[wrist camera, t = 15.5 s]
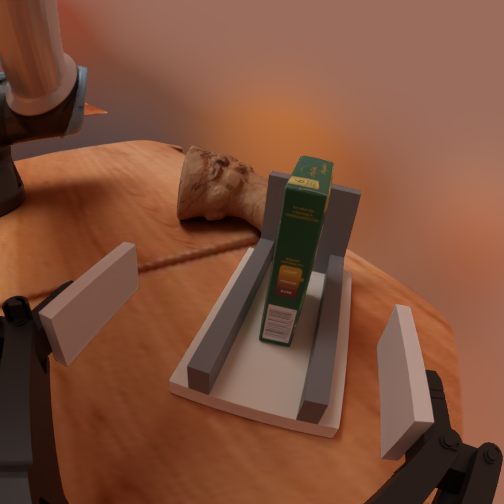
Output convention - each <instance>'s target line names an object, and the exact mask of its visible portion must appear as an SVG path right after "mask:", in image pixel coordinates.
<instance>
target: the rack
mask: <svg viewBox="0 0 504 504" xmlns="http://www.w3.org/2000/svg"><path fill="white" fill-rule="evenodd" d="M290 176H291V175H289V174H285V173H279V172H274V171H272V172H271V173H270V175H269V180H268V188H267V195H266V203H265V210H264V217H263V225H262V232H261V238H260V240H259V242H258V244H257V245H256V247H255V249H253V248H249V249H248V250H247V252H246V254H245V255H244V257H243V259H242V260H241V262H240V264H239V265H238V267H237V269H236V270H235V272H234V274H233V275H232V277H231V278H230V280H229V282H228V283H227V285H226V287H225V288H224V290H223V292H222V293H221V295H220V297H219V298H218V300H217V302H216V303H215V305H214V306H213V308H212V310H211V311H210V313H209V315H208V316H207V318H206V320H205V321H204V323H203V325H202V326H201V328H200V330H199V331H198V333H197V335H196V336H195V338H194V340H193V341H192V343H191V345H190V346H189V348H188V349H187V351H186V353H185V354H184V356H183V358H182V359H181V361H180V363H179V364H178V366H177V368H176V369H175V371H174V373H173V374H172V376H171V378H170V379H169V387H170V392H171V393H173V394H176V395H178V396H181V397H184V398H187V399H189V400H192V401H195V402H198V403H201V404H204V405H206V406H209V407H212V408H215V409H219V410H222V411H225V412H228V413H231V414H234V415H238V416H241V417H245V418H248V419H252V420H255V421H259V422H262V423H266V424H270V425H274V426H278V427H282V428H286V429H290V430H294V431H299V432H303V433H308V434H313V435H317V436H323V437H328V438H333V437H334V435H335V434H336V432H337V431H338V430H339V425H340V418H341V410H342V402H343V393H344V384H345V374H346V363H347V352H348V338H349V323H350V304H351V278H352V272H349V271H345V270H343V267H344V256H345V253H346V249H347V246H348V242H349V238H350V234H351V231H352V227H353V223H354V220H355V216H356V212H357V208H358V204H359V200H360V195H361V193H360V190H357V189H353V188H348V187H344V186H340V185H336V184H332V185H331V191H330V198H329V202H328V207H327V211H326V215H325V220H324V225H323V229H322V233H321V237H320V241H319V245H318V250H317V253H316V257H315V261H314V265H313V269H312V273H311V276H310V281H309V284H308V288H307V291H306V296H305V299H304V303H303V306H302V310H301V314H300V317H299V320H298V323H297V326H296V330H295V333H294V337H293V339H292V342H291V345H290V347H285V346H281V345H277V344H273V343H269V342H264V341H260V340H259V334H260V328H261V322H262V315H263V310H264V304H265V298H266V293H267V287H268V282H269V277H270V271H271V266H272V261H273V255H274V249H275V243H276V238H277V232H278V226H279V221H280V215H281V209H282V203H283V197H284V190H285V186H286V184H287V182H288V180H289V178H290Z"/></svg>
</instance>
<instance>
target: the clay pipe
mask: <svg viewBox="0 0 504 504" xmlns="http://www.w3.org/2000/svg"><path fill="white" fill-rule="evenodd" d="M267 188H268V179H266V178H263V177H261V176H259V175H257V174H256V173H254V171H253V168H252V167H251V166H249V165H248V164H244V163H242V162H238V160H237V159H236V158H234V157H231V156H230V155H227V154H219V153H218V154H217V153H215V152H211V153H210V152H208V151H206V150H204V149H202V148H201V147H199V146H196V145H192V146H191V147H190V149H189V151H188V153H187V155H186V157H185V160H184V163H183V167H182V172H181V177H180V184H179V192H178V202H177V218H178V219H179V220H186V219H190V218H194V217H201V216H203V217H205V218H206V219H207V220H209V221H215V220H220V219H223V218H224V217H225V216H232V217H241V218H243V219H245V220H247V221H248V222H249V223H250V224H252V225H253V226H254V227H256V228H257V229H259V231H260V232H262V225H263V217H264V210H265V203H266V195H267Z"/></svg>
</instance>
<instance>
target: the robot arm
mask: <svg viewBox="0 0 504 504" xmlns="http://www.w3.org/2000/svg"><path fill="white" fill-rule="evenodd" d="M0 65H1V67H2V70H3V72H1V73H0V216H1V215H4V214H6V213H8V212H9V211H11V210H13V209H14V208H16V207H17V206H18V205H20V204H21V203H22V202H23V200H24V199H25V189H24V184H23V182H22V180H21V178H20V175H19V173H18V171H17V169H16V167H15V164H14V162H13V160H12V156H11V147H10V145H13V144H18V143H23V142H29V141H35V140H41V139H48V138H55V137H61V138H63V137H65V136H68V135H73V134H77V133H79V132H80V131H81V130H82V127H83V119H84V106H85V95H86V84H87V75H88V69H87V68H86V67H81V66H76V65H75V63H74V61H73V60H72V58H71V57H70V56H68V55H67V54H65V53H63V47H62V41H61V34H60V26H59V18H58V9H57V0H0ZM138 289H139V280H138V267H137V252H136V244H132V243H128V242H123V243H121V244H120V245H119V246H118V247H116V248H115V249H114V250H113V251H111V252H110V253H109V254H107V255H106V256H105V257H104V258H102V259H101V260H100V261H99V262H97V263H96V264H95V265H94V266H93V267H91V268H90V269H89V270H88V271H86V272H85V273H84V274H83V275H82V276H80V277H79V278H78V279H77V280H76V281H72V280H71V281H69V282H67V283H65V284H62V285H61V286H60V287H59V288H58V289H56V290H55V292H53V293H52V294H50V296H49V297H47V298H46V299H45V300H43V301H42V302H41V303H40V304H39V305H38V306H37V307H35V308H34V309H33V310H32V311H31V309H30V305H29V302H28V300H27V299H26V297H23V296H14V297H11V298H9V299H7V300H6V301H5V302H4V303H3V305H2V309H3V312H4V315H5V317H3V316H0V504H69V503H68V501H67V499H66V498H65V495H64V492H63V488H62V483H61V478H60V472H59V466H58V460H57V453H56V446H55V438H54V430H53V420H52V407H51V391H50V361H49V357H48V355H49V354H50V353H51V352H53V355H54V357H55V360H56V361H57V362H59V363H61V364H63V365H65V366H67V367H69V366H70V364H71V363H72V362H73V361H74V360H75V359H76V357H77V356H78V355H79V354H80V353H81V352H82V351H83V349H84V348H85V347H86V346H87V345H88V344H89V343H90V342H91V340H92V339H93V338H94V337H95V336H96V335H97V334H98V333H99V331H100V330H101V329H102V328H103V327H104V326H105V325H106V324H107V323H108V321H109V320H110V319H111V318H112V317H113V316H114V315H115V314H116V313H117V312H118V310H119V309H120V308H121V307H122V306H123V305H124V304H125V303H126V302H127V301H128V300H129V299H130V298H131V296H132V295H133V294H134V293H135V292H136V291H137V290H138ZM377 357H378V372H379V390H380V418H381V459H386V460H399V459H400V458H401V457H402V456H403V455H404V454H405V458H406V462H405V463H404V464H403V465H402V466H401V467H400V468H398V469H397V470H396V471H395V472H394V474H393V475H392V477H391V478H390V479H389V480H388V481H387V482H386V483H385V484H384V485H383V486H382V487H381V488H380V489H379V490H378V491H377V492H376V493H375V494H374V495H373V496H371V497H370V498H369V499H368V500H367V501H366V502H365V503H364V504H423V503H424V501H425V500H426V499H427V498H428V496H429V495H430V494H431V492H432V491H433V490H434V489H435V488H438V490H437V492H436V495H435V497H434V499H433V501H432V504H492V502H493V499H494V495H495V491H496V487H497V484H498V479H499V475H500V471H501V466H502V461H503V456H502V453H501V450H500V449H499V447H498V446H496V445H495V444H494V443H490V442H488V443H484V444H482V445H481V446H480V447H479V448H475V447H472V446H469V445H467V444H464V443H462V440H461V438H460V436H459V434H458V433H457V432H456V431H455V430H453V429H451V426H450V420H449V414H448V409H447V404H446V400H445V394H444V392H443V391H444V390H443V385H442V381H441V379H440V377H439V376H438V374H437V373H436V371H431V370H425V367H424V363H423V358H422V353H421V349H420V344H419V340H418V336H417V332H416V328H415V324H414V320H413V316H412V312H411V309H410V307H408V306H403V305H399V304H396V305H395V307H394V309H393V312H392V314H391V316H390V318H389V321H388V323H387V325H386V327H385V330H384V332H383V334H382V336H381V338H380V340H379V342H378V345H377Z"/></svg>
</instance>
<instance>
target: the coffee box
mask: <svg viewBox="0 0 504 504" xmlns="http://www.w3.org/2000/svg"><path fill="white" fill-rule="evenodd" d="M333 167H334V164H333V163H332V162H329V161H326V160H322V159H318V158H313V157H308V156H301V157H300V159H299V161H298V163H297V165H296V167H295V169H294V171H293V173H292V174H291V176H290V178H289V180H288V182H287V184H286V186H285V190H284V197H283V203H282V209H281V215H280V221H279V226H278V232H277V238H276V243H275V249H274V255H273V261H272V266H271V271H270V277H269V282H268V287H267V293H266V298H265V304H264V310H263V315H262V322H261V328H260V334H259V340H260V341H264V342H269V343H273V344H277V345H281V346H285V347H290V345H291V342H292V339H293V337H294V333H295V330H296V326H297V323H298V320H299V317H300V314H301V310H302V306H303V303H304V299H305V296H306V291H307V288H308V284H309V281H310V276H311V273H312V269H313V265H314V261H315V257H316V253H317V250H318V245H319V241H320V237H321V233H322V229H323V225H324V220H325V215H326V211H327V207H328V202H329V198H330V191H331V185H332V178H333V169H334V168H333Z"/></svg>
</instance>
